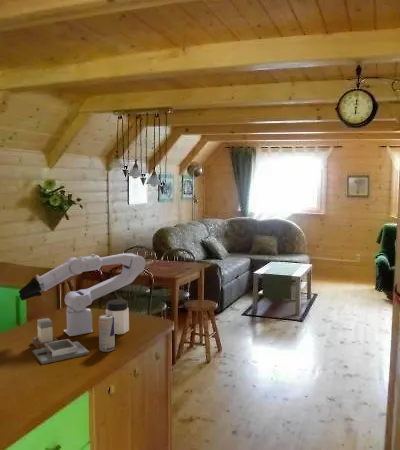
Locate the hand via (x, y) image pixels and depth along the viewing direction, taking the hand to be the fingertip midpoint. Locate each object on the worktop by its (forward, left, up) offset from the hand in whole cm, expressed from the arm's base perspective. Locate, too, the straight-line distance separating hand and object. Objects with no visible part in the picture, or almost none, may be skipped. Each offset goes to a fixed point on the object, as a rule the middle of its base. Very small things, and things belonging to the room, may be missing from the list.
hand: (20, 296), depth 171 cm
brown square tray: (-7, +7, -17) cm, 20 cm away
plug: (-7, +7, -17) cm, 20 cm away
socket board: (-9, +19, -17) cm, 27 cm away
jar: (-35, +8, -18) cm, 40 cm away
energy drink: (-24, +24, -18) cm, 38 cm away
